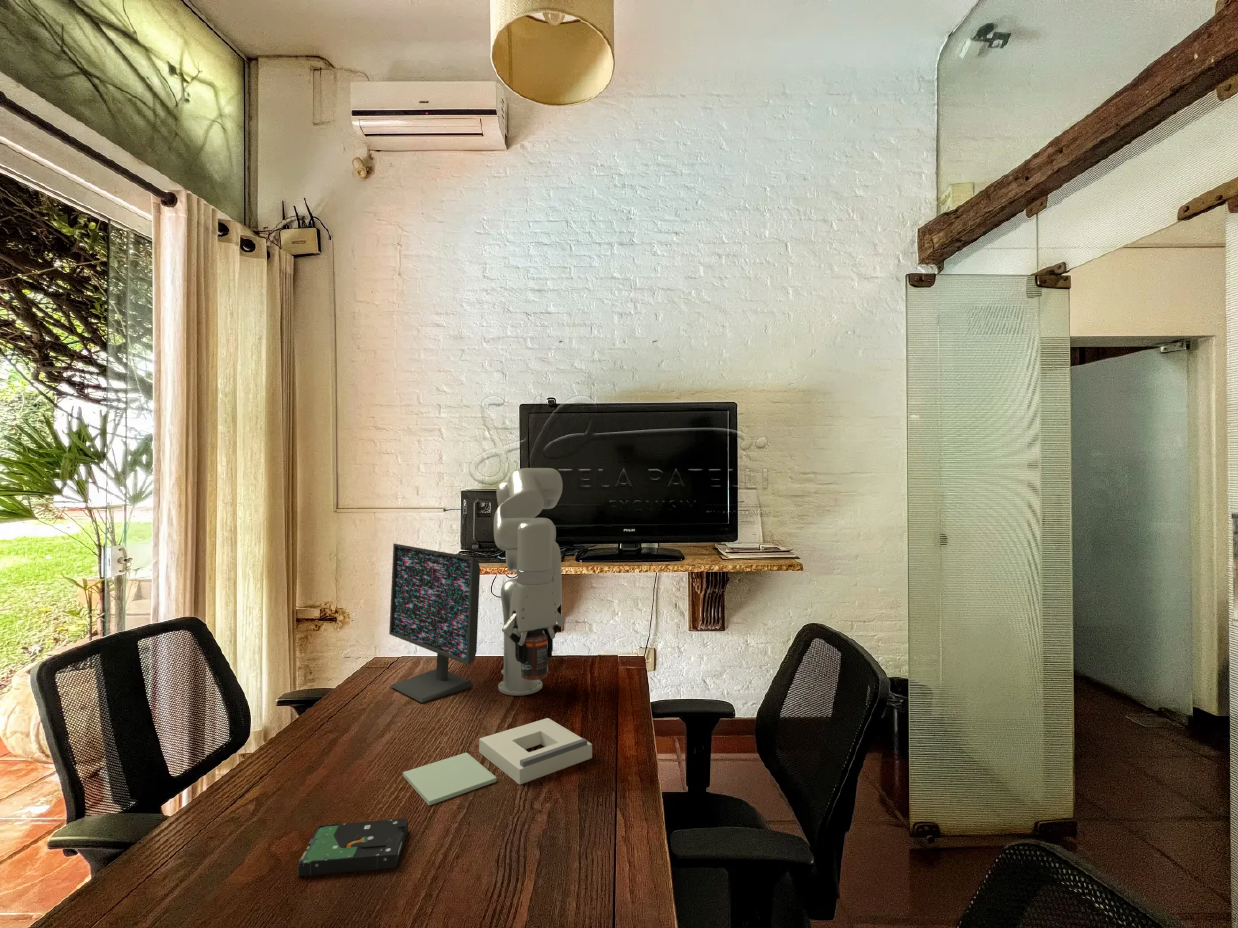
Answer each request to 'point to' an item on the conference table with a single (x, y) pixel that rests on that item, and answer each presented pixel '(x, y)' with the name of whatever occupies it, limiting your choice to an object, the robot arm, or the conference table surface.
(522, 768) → the dispenser block
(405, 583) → the computer monitor
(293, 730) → the conference table surface
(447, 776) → the sage mat
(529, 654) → the supplement bottle
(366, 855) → the disk drive
